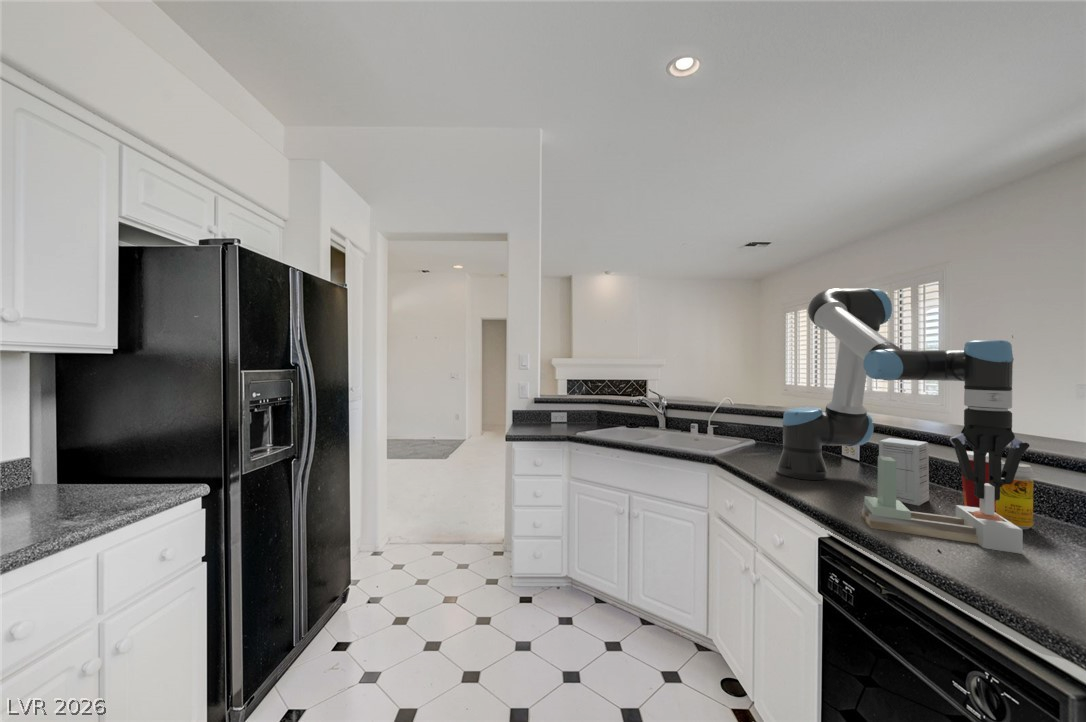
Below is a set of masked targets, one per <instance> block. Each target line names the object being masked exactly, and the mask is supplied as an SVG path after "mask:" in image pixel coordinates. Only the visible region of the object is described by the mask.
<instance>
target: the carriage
mask: <svg viewBox="0 0 1086 722" xmlns="http://www.w3.org/2000/svg"><path fill="white" fill-rule="evenodd" d="M864 505H866V506H867V508H868V509H869V510H870V512H871V513H872V514H873V515H875V516H883V517H890V518H897V519H905V520H911V510H910V509H909V508H908V507H906V506H905V505H904V504H903V502H900V501H899V500H896V461H895V460H894V459H892V458H891V457H883V456H879V455H878V456H877V497H875V496H874V497H873V496H866V495H864Z"/></svg>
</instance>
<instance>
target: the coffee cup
mask: <svg viewBox="0 0 1086 722" xmlns="http://www.w3.org/2000/svg"><path fill="white" fill-rule="evenodd" d="M966 452H967V455H968V458H969V461H970V465H971V468H972V471H973V458H974V453H973V450H972V451H971V450H966ZM1001 462H1004V461H1003V460H1002V459H1001ZM961 478H962V479H961V482H962V492H963V493H962V494H963V503H964V504H963V506H968V507H977V508H980V498H977V497H976V496H975V495H974V482H973V481H970V480H968V479H966V478H964V477H963V474H962V473H961ZM985 483H989V484H990V482H989V453H988V452H987V454H986V477H985ZM995 511H996V500H994V512H995ZM995 513H996V512H995Z"/></svg>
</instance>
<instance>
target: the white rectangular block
mask: <svg viewBox="0 0 1086 722" xmlns="http://www.w3.org/2000/svg"><path fill="white" fill-rule="evenodd" d="M974 511H980V508H977V507H968V506H965V505H960V504H955V517H960V518H963V519H964V525H965V526H973V527H975V528H976V536H978V545H979V546H980V547H982V548H983V549H986V550H987V549H988V550H995V551H1001V552H1008V553H1015V554H1023V544H1024V543H1023V541H1024V540H1023V536H1024V535H1023V533H1024V532H1023V530H1024V529H1020V528H1019V527H1017V526H1016V525H1014V524H1012V523H1011V522H1009V521H1008V520H1006V519H1005V518H1003V517H1001V516H1000V515H999V516H1000V521H995V520H987V519H979V518H976V517H974ZM994 514H996V515H998V514H997V513H996V512H994Z"/></svg>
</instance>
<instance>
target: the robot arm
mask: <svg viewBox="0 0 1086 722" xmlns="http://www.w3.org/2000/svg"><path fill="white" fill-rule="evenodd" d="M892 312H893V305H892V301H891V299H890V297H889V296H888V294H887V292H885V291H883V290H882V289H877V288H868V287H866V288H865V287H864V288H831V289H830V288H829V289H825V290H823V291H821V292H819V293H818V294H816V295H815V296H814V297H813V298H812V299H811V300H810V303H809V305H808V308H807V314H808V318H809V320H810V321H811V322H812V323H813V324H814V325H815V326H816V327H818V328H819V329H820V330H825V331H828V332H829V333H830V334H831V335H832V336H834V338H836V339H837V340H838V341H839V346H838V351H837V352H838V353H837V354H838V355H837V361H836V369H835V374H834V383H833V390H832V399H831V401H830V402H828V403H826V405H825V411H823V410H822V409H821V408H820V407H814V406H813V407H812V406H811V407H809V406H808V407H806V406H805V407H804V406H803V407H794V408H790V409H789V408H788V409H787V410H785V411H784V412H783V419H782V452H781V454H780V457H779V460H778V463H777V467H776V472H777V473H778V474H780V475H782V476H786V477H788V478H793V479H799V480H807V481H809V480H810V481H823V480H826V479H828V478H829V477H828V475H829V474H828V469H827V466H826V463H825V461H824V457H823V455H822V454H823V453H822V449H823V448H822V446H839V447H842V446H843V447H854V446H856V447H857V446H863V445H864V444H867V443H868V442H870V440H871V438H872V436H873V434H874V431H875V430H874V429H875V428H874V427H875V425H874V423H873V419H872V416H871V415H870V414H868V410H867V409H866V408H865V407H864V405H863V403H864V397H865V396H864V395H865V388H866V383H867V377H869V378H870V379H873V380H879V381H881V380H882V381H940V382H941V381H942V382H943V381H948V382H949V381H950V382H953V381H954V382H964V385H963V386H964V387H963V388H964V391H963V393H964V394H963V405H964V406H965V407H967V408H965V409H964V410H963V428H962V430H961V431H960V434H957V435H955V436H949V437H948V439H947V440H948V441H949V442H950V444H951V445H952V446H953V448H954V452H955V455H956V457H957V460H958V464H959V468H960V470H961V475H962V474H963V477H964V478H966V479H968V480H970V481H973V482H974V495H975V496H976V497H977V498H980V511H981V512H982V513H984V514H985V515H992V516H994V500H999V499H1000V487H1002V486H1003V485H1005V484H1012V483H1013V480H1014V477H1015V474H1016V471H1017V469H1018V466H1019V463H1021V460H1022V456H1023V454H1024V453H1025V452H1026V451H1027V450H1028V449H1029V448H1030V444H1029V442H1025V441H1022V440H1020V439H1019V438H1017V437H1016V435H1015V433H1014V432H1013V412H1012V411H1010V410H1009V409H1012V408H1013V368H1014V366H1013V365H1014V364H1013V363H1014V359H1015V358H1014V356H1013V355H1014V354H1013V345H1012V344H1011V342H1010V341H1008V340H1001V339H1000V340H999V339H997V340H996V339H995V340H994V339H993V340H991V339H989V340H985V339H984V340H970V341H969V340H968V341H966V342H965V344H964V348H963V349H962V350H961V349H960V350H959V349H955V350H953V349H951V350H948V349H947V350H946V349H945V350H944V349H943V350H937V349H935V350H933V349H931V350H929V349H928V350H926V349H925V350H923V349H922V350H920V349H919V350H918V349H917V350H916V349H914V350H913V349H912V350H910V349H909V350H908V349H902V348H901V347H899V346H898V345H896V344H895V343H893V342H892V341H891V340H889V339H887V338H886V337H885V336H883V335H882V334H880V333H879V332H880V327H881V325H882V326H883V325H884V324H886V323H887V322H888V321H889V320H890V318H891V316H892ZM965 440H966V441H967V442H968V444H969V445H971V447H972V451H973V453H974V458H973V471H972V468H971V465H970V461H969V458H968V455H967V452H966V451H967V449H966V447H965V444H966V441H965ZM1007 446H1009V447H1010V448H1009V450H1008V453H1007V456H1006V458H1005V461H1004V462H1005V464H1004V467H1003V470H1002V472H1001V460H1002V456H1003V455H1004V454H1003V453H1004V451H1003V450H1004V449H1005V448H1006V447H1007ZM987 453H989V482H990V484H989V483H985V477H986V454H987Z"/></svg>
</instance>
